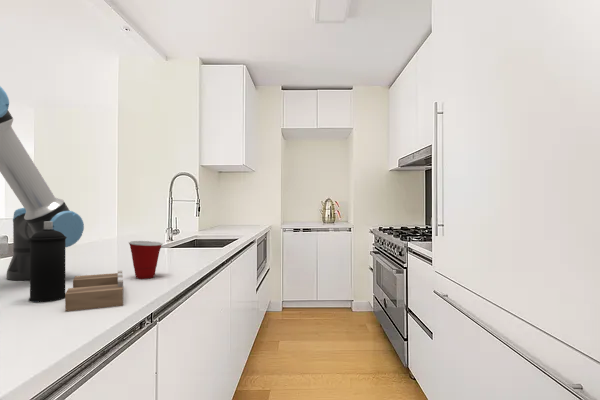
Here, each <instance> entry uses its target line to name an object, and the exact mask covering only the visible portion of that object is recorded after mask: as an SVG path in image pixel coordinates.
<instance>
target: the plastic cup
mask: <svg viewBox="0 0 600 400" xmlns="http://www.w3.org/2000/svg"><path fill="white" fill-rule="evenodd" d="M128 244H129V246H130V253H131V258H132V264H133V269H134V274H135V278H136V279H139V280H144V279H145V280H147V279H152V278H155V276H156V271H157V266H158V261H159V255H160V251H161V249H162V246H163V245H164V243H163V242H160V241H152V240H130V241H128Z"/></svg>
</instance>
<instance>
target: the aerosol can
mask: <svg viewBox="0 0 600 400" xmlns="http://www.w3.org/2000/svg"><path fill="white" fill-rule="evenodd" d="M44 229H45V230H42V231H39V232H37V233H35V234H34V235H33V236H32V237H31V238H29V240H30V280H29V298H28V301H29V302H31V303H47V302H53V301H54V302H55V301H59V300H62V299H64V298H65V294H66V247H65V239H66V238H67V237H66V236H64V234H62V233H61V232H59V231H56V230H54V229H53V222H52V221H46V222H44Z"/></svg>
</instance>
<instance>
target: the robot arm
mask: <svg viewBox="0 0 600 400" xmlns="http://www.w3.org/2000/svg"><path fill="white" fill-rule="evenodd" d="M9 106H10V99H9V96H8V94H7V92H6V91H5V89H4V88H3V87H2V86H1V85H0V174H1V176H2V177H3V178H4V180H5V181H6V182H7V184H8V186H9V187H10V188H11V190H12V192H13V194H14V195H15V197H16V198H17V199H18V201H19V202H20V204H21V206H22V207H20V208H17V209H15V210H14V212H13V218H12V225H13V227H12V230H13V231H12V234H13V235H12V237H13V238H12V239H13V240H12V241H13V243H12V244H13V245H12V246H13V247H12V249H13V250H12V252H13V254H12V257H11V260H10V263H9V264H8V268H7V269H6V279H7V280H12V281H30V240H29V238H31V237H32V236H33V235H34V234H35V233H37V232H39V231H42V230H45V229H44V222H46V221H52V222H53V229H54V230H56V231H59V232H61V233H62V234H64V236H66V237H67V238H66V239H65V248H69V247H71V246H74V245H75V244H77V242H79V240H81V237H82V236H83V234H84V233H83V232H84V229H85V225H84V220H83V218H82V216H81V215H79V214H78V213H77V212H75V211H73V210H70V208H69V207H68V206H67V204H66V202H65V201H64V199H61V198H59V197H58V198H57V197H56V196H55V195H54V193H53V192H52V190H51V189H50V187H49V185H48V183H47V182H46V181H45V179H44V177H43V176H42V174H41V173H40V170H39V169H38V167H37V166H36V164H35V163H34V160H33V159H32V157H31V156H30V154H29V153H28V151H27V150H26V148H25V146H24V145H23V143H22V142H21V140H20V138H19V137H18V135H17V134H16V132H15V131H14V129H13V127H12V124H13V122H14V118H13V116H12V114H11V113H10V110H9ZM0 254H1V255H3V254H9V243H8V242H0Z"/></svg>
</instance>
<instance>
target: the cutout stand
mask: <svg viewBox="0 0 600 400" xmlns="http://www.w3.org/2000/svg"><path fill="white" fill-rule="evenodd" d="M64 303H65V306H64V307H65V309H64V312H71V311H72V312H74V311H75V312H76V311H84V310H92V309H94V310H95V309H102V308H112V307H123V306H124V275H123V270H117V272H113V273H101V274H99V273H98V274H88V275H87V274H86V275H75V276H74V278H73V280H72V287H69V288H67V290H66V291H65V300H64Z"/></svg>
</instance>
